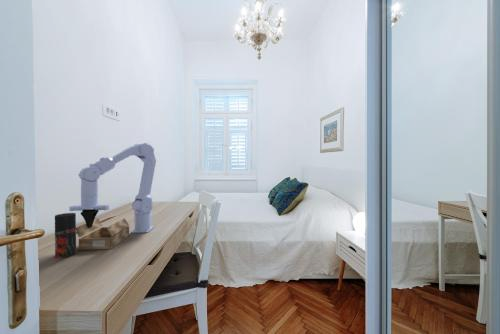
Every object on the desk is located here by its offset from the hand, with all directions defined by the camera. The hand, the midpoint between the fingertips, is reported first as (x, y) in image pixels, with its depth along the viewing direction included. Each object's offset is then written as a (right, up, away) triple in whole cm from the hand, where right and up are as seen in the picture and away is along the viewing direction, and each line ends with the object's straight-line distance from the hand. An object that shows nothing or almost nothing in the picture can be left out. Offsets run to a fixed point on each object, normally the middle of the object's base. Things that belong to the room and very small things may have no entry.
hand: (89, 227), depth 93 cm
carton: (+6, -7, +1) cm, 9 cm away
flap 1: (0, -2, 0) cm, 2 cm away
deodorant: (0, -7, -12) cm, 14 cm away
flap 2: (+12, -2, +2) cm, 13 cm away
